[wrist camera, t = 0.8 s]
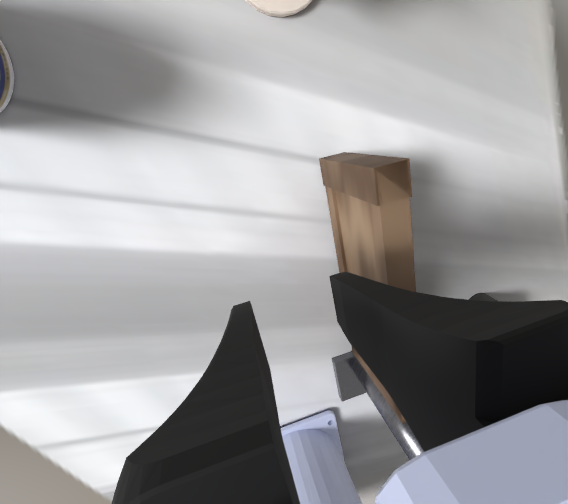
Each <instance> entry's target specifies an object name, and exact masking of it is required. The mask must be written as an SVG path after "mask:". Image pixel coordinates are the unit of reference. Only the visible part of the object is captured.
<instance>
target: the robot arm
mask: <svg viewBox="0 0 568 504" xmlns="http://www.w3.org/2000/svg"><path fill="white" fill-rule="evenodd" d="M330 281H331V287H332V293H333V298H334V304H335V309H336V315H337V321H338V323H339V325H340V327H341V328H342V330H343V332H344V334H345V335H346V337H347V339H348V341H349V342H350V344H351V345H352V346H353V348H354V349H355V350H356V351H357V353H358V354H359V355H360V357H361V358H362V359H363V361H364V362H365V363H366V364H367V366H368V367H369V368H370V370H371V371H372V372H373V373H374V375H375V376H376V377H377V379H378V380H379V381H380V383H381V384H382V385H383V386H384V388H385V389H386V391H387V392H388V393H389V395H390V396H391V398H392V399H393V401H394V403H395V404H396V406H397V407H398V409H399V411H400V412H401V414H402V416H403V417H404V419H405V420H406V422H407V424H408V425H409V427H410V429H411V430H412V432H413V434H414V435H415V437H416V439H417V440H418V442H419V444H420V446H421V447H422V449H423V451H424V452H423V453H421V454H419V455H418V456H416V457H415V458H413V459H411V460H410V461H408V462H407V463H405V464H403V465H402V466H400V467H399V468H397V469H396V470H395V471H394V472H393V473H392V475H391V476H390V477H389V478H388V480H387V481H386V482H385V483H384V485H383V486H382V487H381V488H380V490H379V491H378V494H377V497H376V501H375V504H568V302H566V301H563V300H552V301H526V302H500V301H476V300H465V299H454V298H446V297H439V296H433V295H428V294H422V293H417V292H413V291H409V290H405V289H401V288H397V287H393V286H390V285H387V284H383V283H380V282H377V281H374V280H371V279H368V278H365V277H362V276H359V275H356V274H352V273H349V272H342V273H338V274H335V275H332V276H330ZM112 504H362V502H361V500H360V498H359V495H358V493H357V491H356V488H355V486H354V484H353V482H352V479H351V477H350V475H349V472H348V470H347V468H346V465H345V460H344V456H343V451H342V446H341V441H340V436H339V432H338V427H337V422H336V417H335V414H334V412H333V411H331V410H328V411H325V412H322V413H320V414H317V415H314V416H312V417H309V418H306V419H304V420H301V421H298V422H296V423H293V424H290V425H288V426H285V427H282V428H280V424H279V418H278V412H277V407H276V401H275V395H274V389H273V384H272V378H271V372H270V368H269V364H268V361H267V357H266V354H265V350H264V347H263V343H262V340H261V337H260V333H259V330H258V326H257V323H256V320H255V316H254V313H253V309H252V306H251V303H250V301H248V302H245V303H242V304H238V305H235V306H233V308H232V310H231V314H230V318H229V321H228V324H227V327H226V330H225V332H224V335H223V338H222V340H221V342H220V345H219V347H218V349H217V351H216V353H215V355H214V357H213V359H212V361H211V363H210V364H209V366H208V368H207V369H206V371H205V373H204V374H203V376H202V377H201V379H200V380H199V382H198V383H197V384H196V386H195V387H194V388H193V390H192V391H191V392H190V394H189V395H188V396H187V398H186V399H185V400H184V401H183V402H182V404H181V405H180V406H179V407H178V408H177V409H176V410H175V412H174V413H173V414H172V415H171V416H170V417H169V418H168V419H167V420H166V421H165V422H164V423H163V424H162V425H161V426H160V427H159V428H158V429H157V430H156V431H155V432H154V433H153V434H152V435H151V436H150V437H149V438H148V439H146V440H145V441H144V442H143V443H142V444H141V445H140V446H139V447H138V448H137V449H136V450H135V451H133V452H132V453H131V454H130V455H129V456H128V457H127V458H126V460H125V464H124V466H123V469H122V472H121V475H120V477H119V480H118V483H117V487H116V490H115V493H114V497H113V501H112Z"/></svg>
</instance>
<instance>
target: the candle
mask: <svg viewBox="0 0 568 504" xmlns="http://www.w3.org/2000/svg"><path fill="white" fill-rule="evenodd" d="M245 1H246V2H247V3H248V4H250V5H251V6H252V7H253V8H255V9H256V10H257V11H260V12H262V13H264V14H267V15H269V16H277V17H285V16H290V15H294V14H296V13H298V12H299V11H301V10H303V9H304V8H306V7H307V6H308V5H309V4H310V2H311V1H312V0H245Z"/></svg>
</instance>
